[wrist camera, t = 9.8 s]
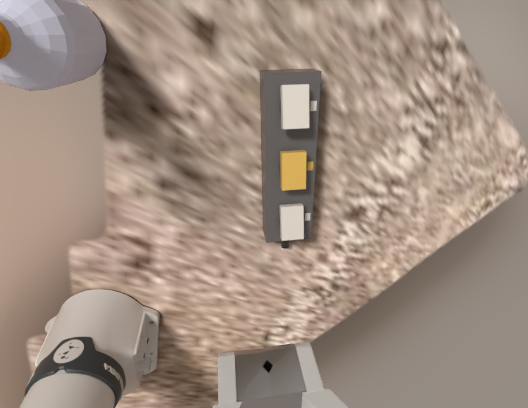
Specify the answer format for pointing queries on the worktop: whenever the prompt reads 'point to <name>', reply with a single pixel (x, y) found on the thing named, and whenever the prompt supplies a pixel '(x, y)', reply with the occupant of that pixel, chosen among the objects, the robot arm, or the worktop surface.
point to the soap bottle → (48, 43)
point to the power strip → (286, 148)
